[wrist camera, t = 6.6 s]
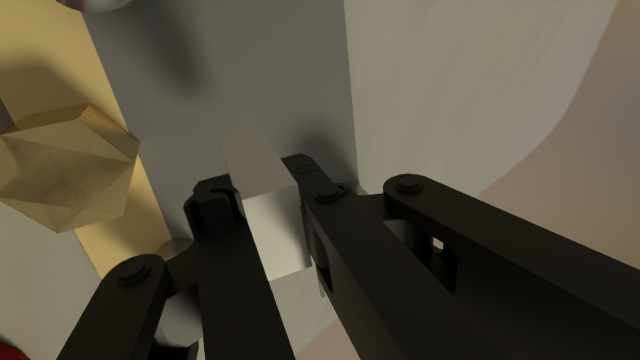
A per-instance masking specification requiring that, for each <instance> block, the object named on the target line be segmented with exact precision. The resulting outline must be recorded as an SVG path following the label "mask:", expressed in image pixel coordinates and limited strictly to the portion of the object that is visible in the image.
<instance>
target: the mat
mask: <svg viewBox="0 0 640 360" xmlns="http://www.w3.org/2000/svg"><path fill="white" fill-rule="evenodd" d="M0 98H1V100H2V102H3V104H4V106H5V107H6V109H7V111H8V113H9V115H10V116H11V118H12V120H13V122H14V123H16V122H17V121H19V120H20V119H21V118H22V117H24V116H25V115H31V114H36V113H41V112H46V111H51V110H56V109H61V108H66V107H71V106H76V105H82V104H87V103H92V104H93V105H95V106H96V107H97V108H98V109H100V110H101V111H102V112H103V113H105V114H106V115H107V116H108V117H110V118H111V119H112V120H113V121H115V122H116V123H117V124H118V125H119V126H121V127H122V128H123V129H124V130H126V131H127V132H128V133H129V134H131V135H132V136H133V137H134V138H136V139H137V140H138V141H139V142H141V143H140V147H139V151H138V155H137V160H136V164H135V168H134V173H133V177H132V181H131V185H130V190H129V193H128V197H127V201H126V205H125V209H124V213H123V216H121V217H117V218H113V219H110V220H106V221H102V222H98V223H95V224H91V225H87V226H83V227H80V228H76V229H74V231H75V233H76V235H77V236H78V238H79V240H80V242H81V244H82V245H83V247H84V249H85V251H86V253H87V254H88V256H89V258H90V260H91V262H92V263H93V265H94V267H95V269H96V271H97V272H98V274H99V276H100V278H101V280H102V279H103V278H104V277H105V275H106V274H107V273H108V272H109V271H110V270H111V269H112V268H114V267H115V266H116V265H118V264H119V263H120V262H122V261H124V260H127V259H128V258H131V257H134V256H138V255H141V254H154V253H155V251H156V250H157V249H158V247H159V246H161V245H162V244H163V243H165V242H167V241H169V240H172V239H177V238H187V239H191V240H194V239H193V234H192V232H191V229H190V226H189V223H188V221H187V218H186V215H185V212H184V210H183V206H184V203H185V201H186V200H187V199H188V198H189V197H190V196H192V195H193V189H194V187H195V186H196V184H197V183H198V181H201V180H205V179H209V178H213V177H216V176H220V175H224V174H227V171H226V168H225V164H224V161H223V157H222V153H221V150H220V146H219V143H218V139H217V136H216V132H215V128H214V125H213V123H216V122H221V121H225V120H229V119H234V118H238V117H242V116H247V115H251V116H252V118H253V119H254V121H255V122H256V124H257V125H258V127H259V128H260V130H261V131H262V133H263V134H264V136H265V137H266V138H267V140H268V141H269V143H270V144H271V146H272V147H273V149H274V150H275V152H276V153H277V155H278V156H279V158H284V157H287V156H291V155H295V154H299V153H302V154H304V155H307V156H310V157H311V158H312V159H313V160H314V161H315V162H316V164H317V165H318V166H319V167H320V168H321V170H323V171H324V172H325V174H326V175H327V176H328V177H329V178H330V179H331V180H332V182H333V183H345V182H354V183H357V184H359V181H358V169H357V157H356V146H355V134H354V122H353V110H352V98H351V86H350V74H349V62H348V50H347V38H346V26H345V14H344V2H343V0H138V1H137V2H136V3H134V4H132V5H130V6H128V7H124V8H119V9H115V10H110V11H105V12H99V13H88V12H82V11H77V10H74V9H71V8H69V7H66V6H64V5H62V4H60V3H59V2H57V1H55V0H0Z"/></svg>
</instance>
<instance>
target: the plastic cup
mask: <svg viewBox="0 0 640 360" xmlns="http://www.w3.org/2000/svg"><path fill="white" fill-rule="evenodd" d="M0 360H30V359H28V358H27V357H26V356H25V355H24V354H23V353H22V352H21V351H20V350H18V349H15V348H13V347H10V346H8V345H5V344H3V343H0Z"/></svg>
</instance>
